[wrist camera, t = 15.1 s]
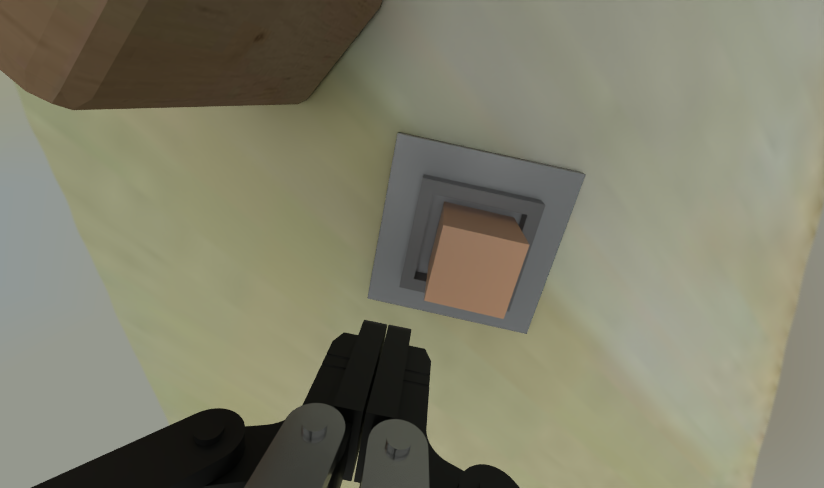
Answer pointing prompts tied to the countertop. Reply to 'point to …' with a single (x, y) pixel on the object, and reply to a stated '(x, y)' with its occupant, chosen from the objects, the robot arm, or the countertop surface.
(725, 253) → the countertop surface
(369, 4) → the wooden block
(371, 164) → the countertop surface
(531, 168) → the socket board
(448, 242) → the brick
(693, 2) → the countertop surface
